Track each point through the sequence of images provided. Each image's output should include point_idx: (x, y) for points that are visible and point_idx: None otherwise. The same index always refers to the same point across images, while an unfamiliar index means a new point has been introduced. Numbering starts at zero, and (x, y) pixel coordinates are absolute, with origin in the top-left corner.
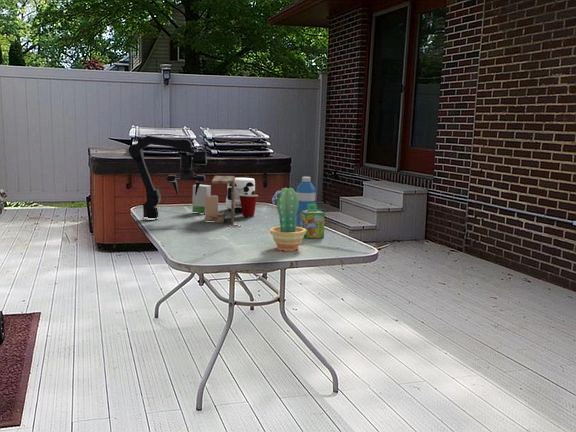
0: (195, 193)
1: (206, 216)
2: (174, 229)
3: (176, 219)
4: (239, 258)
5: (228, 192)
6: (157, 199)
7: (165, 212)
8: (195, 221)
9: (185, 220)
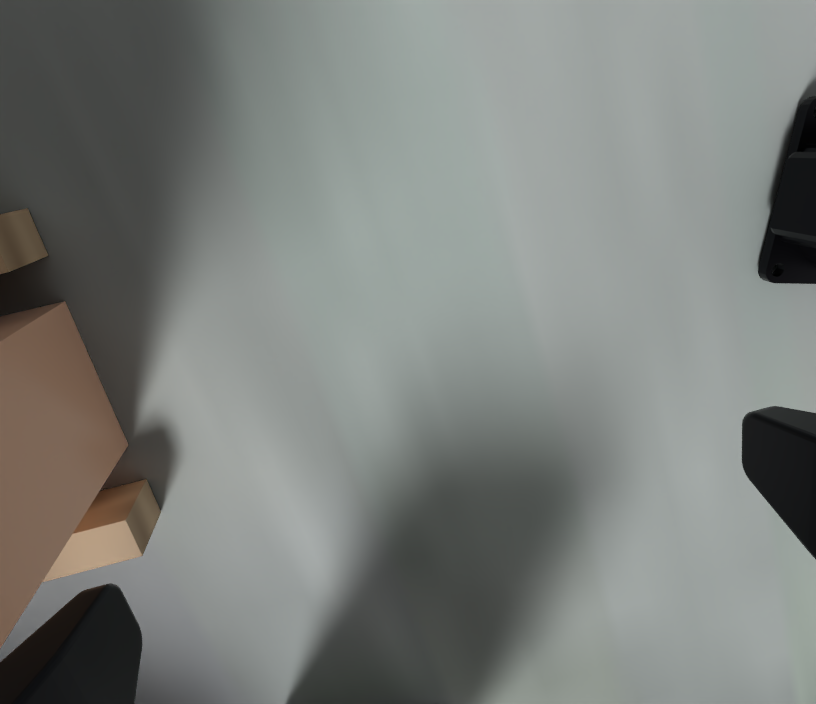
0: (67, 628)
1: (12, 326)
2: None
3: (527, 321)
4: None
5: None
6: None
7: (738, 667)
8: (210, 244)
9: (384, 282)
